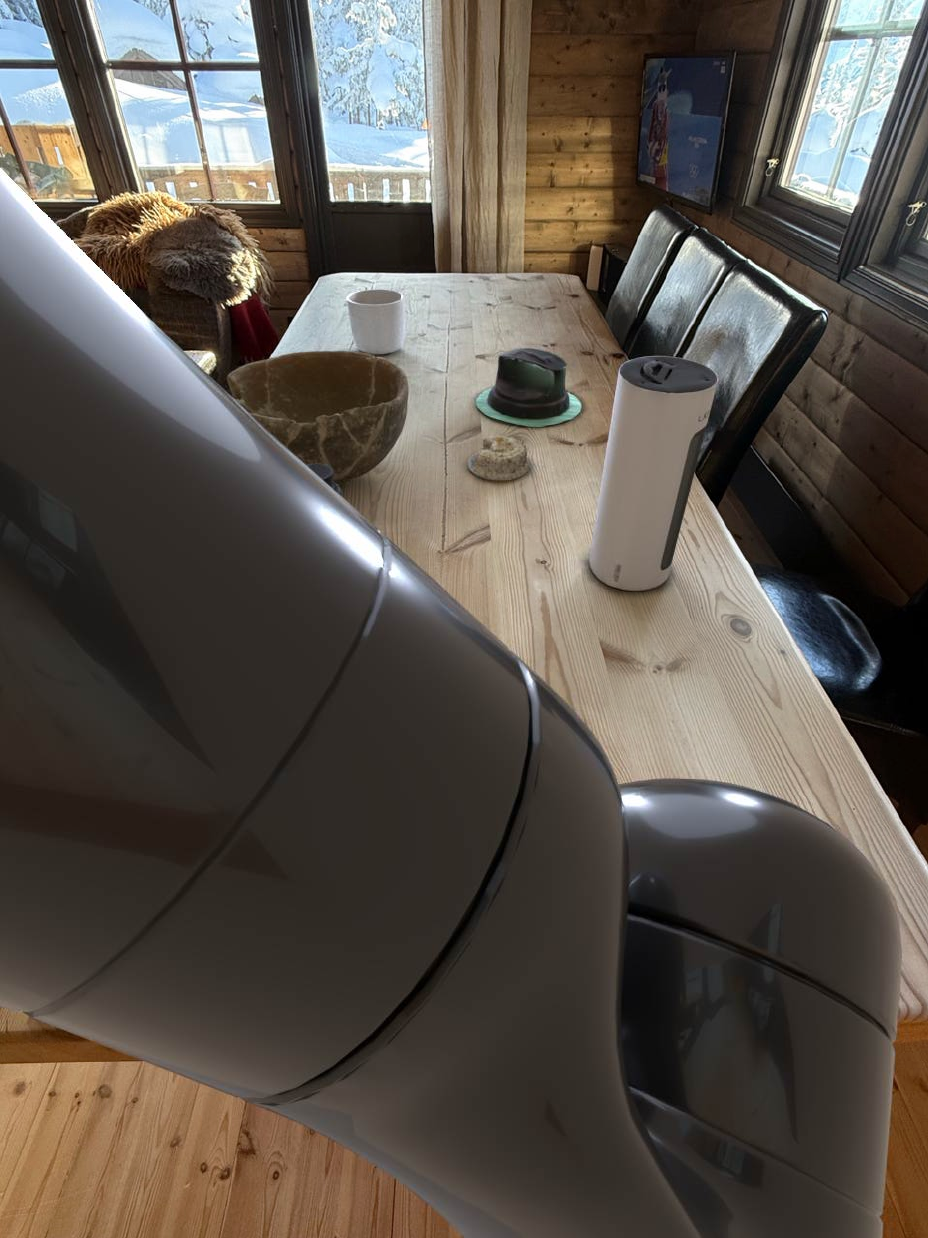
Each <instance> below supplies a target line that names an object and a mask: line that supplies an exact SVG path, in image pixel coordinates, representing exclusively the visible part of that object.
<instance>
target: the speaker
mask: <svg viewBox="0 0 928 1238" xmlns="http://www.w3.org/2000/svg"><path fill="white" fill-rule="evenodd" d="M718 383H719V377H718V373H717V372H715V370H713V369H712V368H711V367H709V366H707V365H705V364H703V363H701V362H698V361H695V360H692V359H687V358H682V357H675V356H667V355H652V356H651V355H650V356H648V355H647V356H642V357H637V358H633V359H629V360H627V361H625V362H623V363H622V364H621V365H620V367H619V369H618V374H617V380H616V387H615V394H614V400H613V406H612V412H611V419H610V426H609V431H608V437H607V443H606V452H605V457H604V462H603V463H604V464H603V469H602V470H603V471H602V477H601V483H600V488H599V489H600V490H599V496H598V502H597V509H596V515H595V522H594V528H593V535H592V541H591V546H590V553H589V556H588V560H589V567H590V569H591V572H592V573H593V574H594V576H595V578H597V579H598V580H599V581H601V582H602V583H603V584H605V585H607V586H609V587H611V588H615V589H618V590H622V591H626V592H645V591H650V590H654V589H656V588H658V587H660V586H662V585H663V584H664V583H665V582H666V581H667V579H668V578H669V575H670V572H671V568H672V563H673V560H674V555H675V551H676V548H677V544H678V540H679V536H680V532H681V528H682V524H683V520H684V517H685V512H686V508H687V506H688V505H687V504H688V500H689V496H690V493H691V488H692V484H693V482H694V477H695V473H696V469H697V465H698V461H699V458H700V454H701V450H702V445H703V442H704V438H705V434H706V431H707V426H708V423H709V418H710V415H711V410H712V406H713V401H714V399H715V394H716V390H717V386H718Z"/></svg>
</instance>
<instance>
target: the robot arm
mask: <svg viewBox="0 0 928 1238" xmlns="http://www.w3.org/2000/svg"><path fill="white" fill-rule="evenodd" d="M342 496H343V495H342ZM342 496H341V495H339V494H338V493H337V492H336V491H335V490H334V489H333V488H332V487H330V486H329V485H328V484H327V483H326V482H325V481H324V480H323V479H321V478H320V477H319V476H318V475H317V474H316V473H315V472H313V471H312V470H311V469H310V468H309V467H308V466H307V465H306V464H304V463H303V462H302V461H301V460H300V459H299V458H298V457H297V456H295V455H294V454H293V453H292V452H291V451H290V450H289V449H288V448H286V447H285V446H284V445H283V444H282V443H281V442H280V441H279V440H277V439H276V438H275V437H274V436H273V435H272V434H271V433H270V432H268V431H267V430H266V429H265V428H264V427H263V426H262V425H261V424H260V423H259V422H258V421H257V420H256V419H255V418H254V417H253V416H252V415H250V414H249V413H248V412H247V411H246V410H245V409H244V408H243V407H242V406H241V405H240V404H239V403H238V402H237V401H236V400H235V399H234V398H233V396H232V395H231V394H230V393H228V392H227V391H226V390H225V389H224V388H223V387H222V386H221V385H220V384H219V383H218V382H217V381H216V380H215V379H214V378H212V376H211V375H210V374H208V373H207V372H206V371H205V370H204V368H202V367H201V366H200V365H199V364H198V363H197V362H196V361H195V360H193V359H192V358H191V356H189V355H188V354H187V353H186V352H185V351H184V350H183V349H182V348H181V347H180V346H179V345H178V344H177V343H175V341H174V340H173V339H171V338H170V337H169V336H168V335H167V334H166V333H165V332H164V331H163V330H162V329H161V328H160V327H158V325H157V324H156V323H155V322H154V321H152V320H151V319H150V317H148V316H147V315H146V313H144V312H143V310H142V309H140V308H139V307H138V306H137V305H136V304H135V303H134V302H133V301H132V300H131V299H130V297H128V296H127V295H126V294H125V292H123V290H122V289H120V288H119V286H118V285H116V284H115V283H114V281H112V280H111V279H110V278H109V277H108V276H107V275H106V274H105V273H104V271H102V269H100V267H98V266H97V265H96V264H95V263H94V262H93V261H92V260H91V258H90V257H88V256H87V255H86V253H85V252H83V250H82V249H80V248H79V247H78V246H77V244H76V243H74V241H73V240H71V238H70V237H68V236H67V235H66V233H65V232H64V231H63V230H62V229H60V227H59V226H57V224H55V223H54V221H53V220H51V218H50V217H48V215H47V214H46V213H45V212H43V211H42V210H41V209H40V208H39V207H38V206H37V204H35V202H33V201H32V199H31V198H30V197H29V196H28V195H27V194H26V193H25V192H24V191H23V190H22V189H21V187H19V186H18V184H16V183H15V181H14V180H13V179H11V177H10V176H9V175H8V174H7V173H6V172H5V171H4V170H3V169H2V168H1V167H0V1007H2V1008H5V1009H7V1010H9V1011H13V1012H21V1013H23V1014H24V1015H26V1016H28V1017H30V1018H32V1019H35V1020H37V1021H40V1022H43V1023H45V1024H48V1025H49V1026H52V1027H54V1028H57V1029H60V1030H63V1031H65V1032H68V1033H71V1034H73V1035H75V1036H78V1037H81V1038H83V1039H86V1040H89V1041H91V1042H93V1043H96V1044H98V1045H101V1046H104V1047H106V1048H109V1049H112V1050H113V1051H116V1052H119V1053H121V1054H124V1055H126V1056H130V1057H131V1058H133V1059H136V1060H139V1061H142V1062H145V1063H147V1064H149V1065H152V1066H154V1067H158V1068H159V1069H162V1070H165V1071H167V1072H170V1073H172V1074H175V1075H178V1076H180V1077H183V1078H186V1079H188V1080H191V1081H193V1082H196V1083H199V1084H200V1085H203V1086H206V1087H209V1088H211V1089H213V1090H216V1091H218V1092H222V1093H224V1094H226V1095H228V1096H232V1097H233V1098H240V1099H241V1100H242V1101H244V1102H246V1103H248V1104H249V1105H250V1104H251V1105H253V1106H255V1107H257V1108H261V1109H264V1110H266V1111H268V1112H271V1113H273V1114H276V1115H278V1116H281V1117H283V1118H286V1119H288V1120H290V1121H293V1122H295V1123H297V1124H300V1125H302V1126H304V1127H305V1128H307V1129H309V1130H312V1131H313V1132H316V1133H317V1134H320V1136H321V1135H322V1136H323V1137H325V1138H327V1139H329V1140H330V1141H332V1142H334V1143H335V1144H338V1145H339V1146H341V1147H342V1148H345V1149H346V1150H348V1151H350V1152H352V1153H353V1154H356V1155H357V1156H359V1157H360V1158H362V1159H364V1160H365V1161H366V1162H368V1163H370V1164H371V1165H373V1166H374V1167H376V1168H377V1169H379V1170H381V1171H382V1172H384V1173H386V1174H387V1175H389V1176H390V1177H392V1178H393V1179H395V1180H396V1181H397V1182H399V1183H400V1184H402V1185H403V1186H404V1187H405V1188H407V1189H408V1190H409V1191H411V1192H412V1194H414V1195H416V1196H417V1197H418V1198H420V1200H422V1201H423V1202H425V1203H426V1205H428V1206H429V1207H431V1208H432V1209H433V1210H434V1211H435V1212H437V1214H439V1216H441V1217H442V1218H443V1219H444V1220H445V1221H446V1222H447V1223H448V1224H449V1225H451V1226H452V1227H453V1228H454V1229H455V1230H456V1231H457V1232H458V1233H459V1234H460V1235H462V1236H463V1237H464V1238H883V1231H884V1222H883V1220H882V1218H881V1217H880V1216H882V1215H883V1214H884V1213H883V1212H884V1202H885V1192H886V1191H885V1190H886V1178H887V1177H886V1176H887V1165H888V1153H889V1138H890V1126H891V1115H892V1103H893V1102H892V1100H893V1089H894V1077H895V1076H894V1075H895V1065H896V1064H895V1062H896V1050H895V1048H894V1045H893V1044H894V1042H895V1041H896V1039H897V1036H898V1035H897V1034H898V1025H899V1023H898V1022H899V1011H900V998H901V981H902V959H903V947H902V939H901V929H900V921H899V917H898V913H897V910H896V907H895V904H894V902H893V899H892V897H891V894H890V892H889V889H888V886H887V884H886V883H885V882H884V880H883V879H882V877H881V876H880V875H879V873H878V872H877V870H876V869H875V867H874V866H873V864H872V863H871V862H870V861H869V859H868V858H867V856H866V855H865V854H864V853H863V852H861V850H860V849H859V848H858V847H857V846H856V845H855V844H854V843H853V842H852V841H850V840H849V839H848V838H847V837H845V836H844V835H843V834H842V833H840V831H838V830H837V829H835V828H834V826H832V825H831V824H829V823H827V822H826V821H824V820H823V819H821V818H819V817H817V816H816V815H814V814H812V813H811V812H809V811H808V810H806V809H804V808H802V807H800V806H798V805H797V804H795V803H793V802H790V801H789V800H787V799H784V798H782V797H779V796H775V795H773V794H770V793H767V792H765V791H764V792H763V791H760V790H758V789H754V788H751V787H748V786H744V785H740V784H736V783H731V782H725V781H719V780H712V779H703V778H678V777H664V778H663V777H662V778H650V779H649V778H648V779H644V780H643V779H642V780H636V781H628V782H624V783H619V782H618V778H617V775H616V772H615V769H614V767H613V764H612V763H611V761H610V759H609V757H608V755H607V753H606V752H605V749H604V748H603V746H602V744H601V743H600V741H599V739H598V738H597V736H596V735H595V734H594V732H593V731H592V730H591V729H590V727H588V726H587V724H586V723H585V722H584V721H583V719H582V718H581V717H580V716H579V715H578V713H577V712H576V711H575V710H574V709H573V708H572V706H571V705H570V704H569V703H568V702H567V701H566V700H565V699H564V698H563V697H562V696H561V695H560V694H559V693H558V692H557V691H556V690H555V689H553V688H552V686H550V684H549V683H548V682H547V681H545V680H544V679H543V678H542V677H541V676H540V675H539V674H538V673H536V671H535V670H534V669H532V668H531V667H530V666H529V665H528V664H527V663H526V662H525V661H523V659H521V658H520V657H519V655H517V654H516V653H515V652H513V651H512V650H510V648H509V647H508V646H507V644H505V643H504V642H503V641H502V640H501V639H500V638H499V637H498V636H496V635H495V634H494V633H493V632H492V631H491V630H490V629H489V628H487V627H486V626H485V625H484V624H483V623H482V622H481V621H480V620H479V619H478V618H477V617H476V616H475V615H473V614H472V613H471V612H470V611H469V610H468V609H467V608H466V607H465V606H464V605H462V604H461V602H460V601H458V600H457V599H456V598H455V597H453V596H452V595H451V594H450V592H448V591H447V590H446V589H445V588H444V587H443V586H441V584H439V582H437V581H436V580H435V579H434V578H433V577H432V576H430V574H428V572H426V571H425V569H423V568H422V567H421V566H420V565H419V564H418V563H417V562H415V561H414V560H413V559H412V558H411V557H410V556H409V555H408V554H406V553H405V551H404V550H402V549H401V548H400V547H399V546H398V545H397V544H396V543H394V541H392V540H391V539H390V538H389V537H388V536H387V535H386V534H383V533H382V532H381V531H380V530H379V529H378V527H377V526H375V525H374V524H373V523H372V522H371V521H370V520H369V519H368V518H367V517H365V516H364V515H363V514H362V513H361V512H360V511H359V510H358V509H356V508H355V507H354V506H353V505H352V504H351V503H349V501H347V500H346V499H345V498H344V497H342Z"/></svg>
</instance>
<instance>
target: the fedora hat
mask: <svg viewBox="0 0 928 1238" xmlns="http://www.w3.org/2000/svg"><path fill="white" fill-rule="evenodd" d="M567 366H568V362H567V361H566V360H565V359H564V357H561V356H560V355H559V354H556V353H554V352H551V351H549V350H543V349H539V348H531V347H522V348H521V347H520V348H515V349H511V350H508V351H505V352H503V353H501V354H499V355H498V358H497V371H496V377H495V384H494V385H493V387H491V388H487V389H486V390H485V391H483V392H481V393H480V394H479V395H478V396H477V397H476V398H475V399H476V400H475V405H476V407H477V408H478V409H479V411H481V412H482V413H483V415H485V416H487V417H490V418H493V419H494V420H495V419H496V420H499V421H503V422H506V423H509V424H514V425H518V426H523V427H524V426H525V427H531V428H543V427H546V426H551V425H558V424H561V423H564V422H566V421H569V420H573V419H574V418H575V417H577V415H579V414H580V412H581V410H582V403H581V401H580V400H579V398H577V397H576V396H575V395H574V394H571V393H570V392H568V391H567V390H566V379H567V378H566V377H567Z"/></svg>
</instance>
